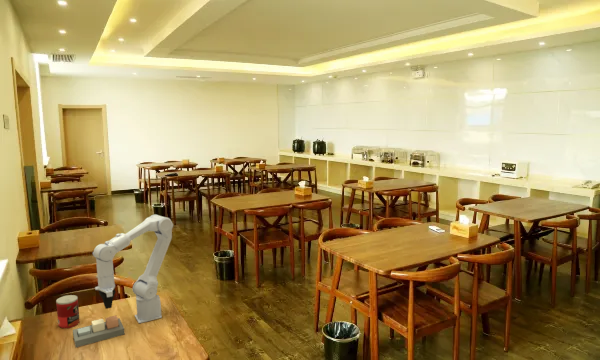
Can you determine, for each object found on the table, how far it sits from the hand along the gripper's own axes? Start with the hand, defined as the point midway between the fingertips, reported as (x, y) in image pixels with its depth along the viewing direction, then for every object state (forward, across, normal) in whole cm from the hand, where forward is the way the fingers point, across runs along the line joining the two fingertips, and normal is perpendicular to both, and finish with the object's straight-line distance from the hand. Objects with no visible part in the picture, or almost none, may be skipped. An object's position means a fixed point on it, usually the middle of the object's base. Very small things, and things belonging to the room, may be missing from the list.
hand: (108, 307), depth 162 cm
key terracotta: (+8, 0, +1) cm, 8 cm away
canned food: (+10, -16, -13) cm, 24 cm away
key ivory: (+8, 0, -4) cm, 9 cm away
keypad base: (+10, 0, -4) cm, 11 cm away
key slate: (+10, 0, -9) cm, 13 cm away
